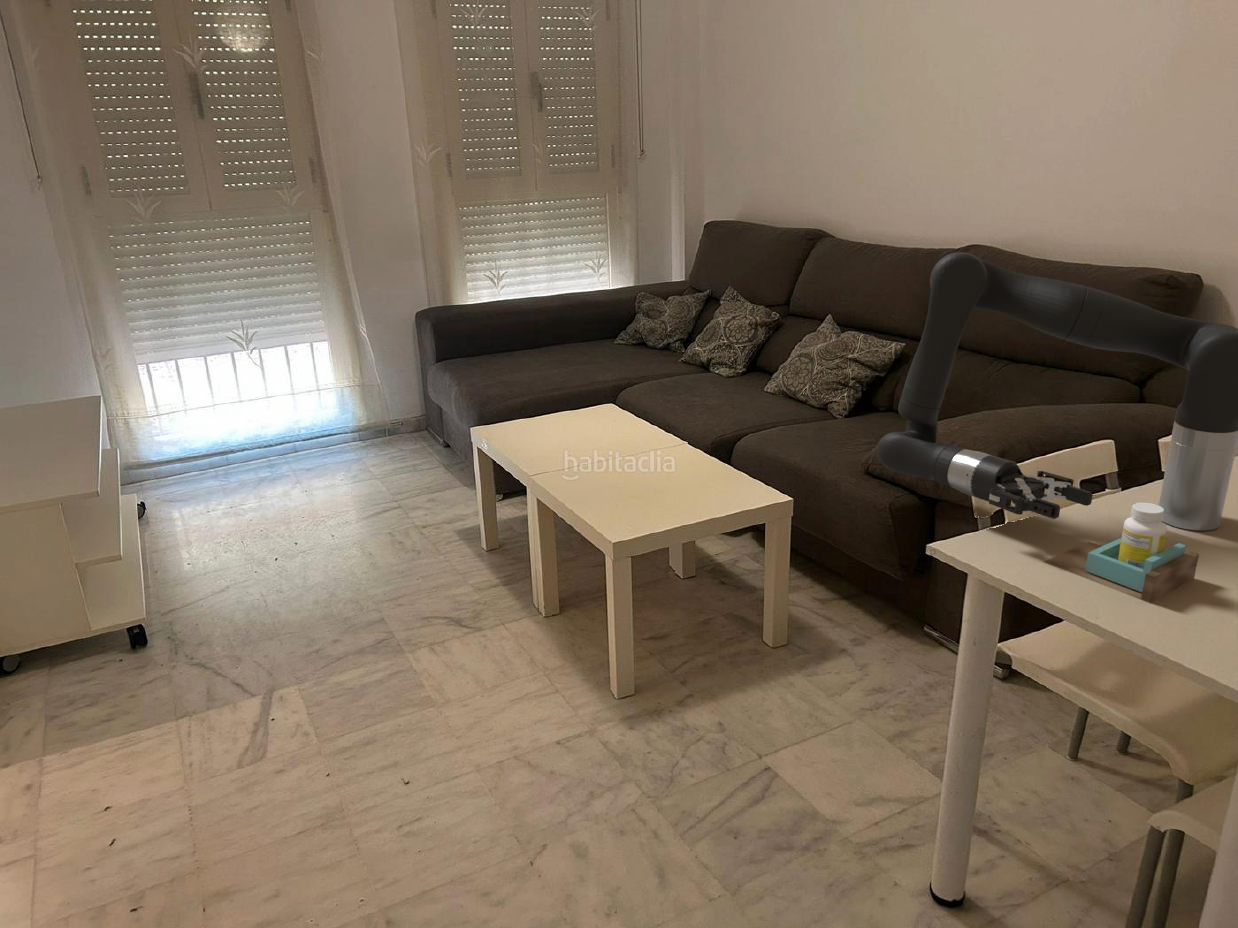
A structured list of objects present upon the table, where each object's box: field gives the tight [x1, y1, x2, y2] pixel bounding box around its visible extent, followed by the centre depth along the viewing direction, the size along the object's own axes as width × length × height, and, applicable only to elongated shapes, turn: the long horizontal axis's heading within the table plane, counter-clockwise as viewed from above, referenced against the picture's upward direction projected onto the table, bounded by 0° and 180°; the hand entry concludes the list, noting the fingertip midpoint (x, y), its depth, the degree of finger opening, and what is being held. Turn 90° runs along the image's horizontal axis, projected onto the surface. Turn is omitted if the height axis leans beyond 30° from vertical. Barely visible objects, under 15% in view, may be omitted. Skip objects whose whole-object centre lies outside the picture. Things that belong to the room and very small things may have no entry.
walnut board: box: [1043, 541, 1200, 604], centre depth 133 cm, size 12×16×6 cm
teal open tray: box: [1085, 536, 1187, 592], centre depth 131 cm, size 9×9×5 cm
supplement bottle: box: [1118, 502, 1168, 569], centre depth 129 cm, size 5×5×10 cm
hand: (1074, 506), depth 137 cm, fingers open, 8 cm apart
